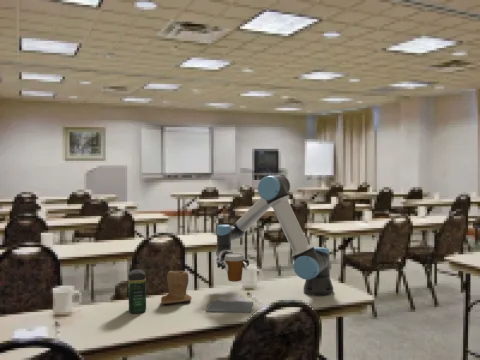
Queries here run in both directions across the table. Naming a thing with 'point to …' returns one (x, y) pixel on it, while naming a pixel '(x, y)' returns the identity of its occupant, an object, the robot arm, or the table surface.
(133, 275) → the coffee jar
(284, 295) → the table surface
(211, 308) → the rubber mat
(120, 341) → the table surface
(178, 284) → the tan ankle boots
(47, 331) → the table surface
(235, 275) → the disposable coffee cup
